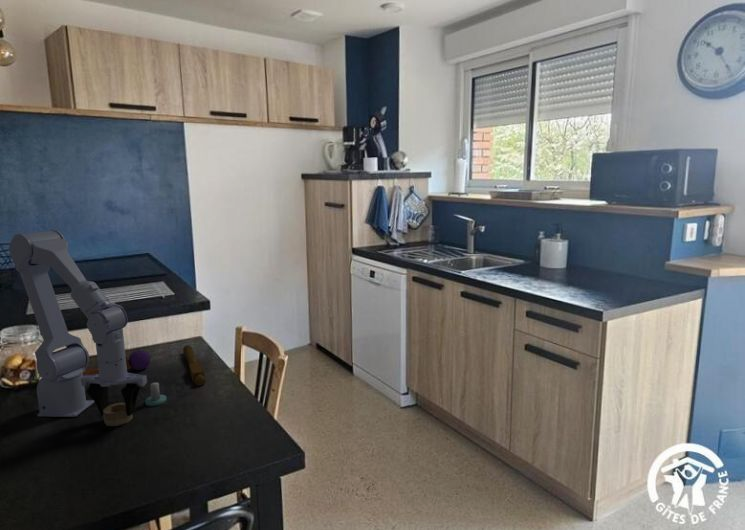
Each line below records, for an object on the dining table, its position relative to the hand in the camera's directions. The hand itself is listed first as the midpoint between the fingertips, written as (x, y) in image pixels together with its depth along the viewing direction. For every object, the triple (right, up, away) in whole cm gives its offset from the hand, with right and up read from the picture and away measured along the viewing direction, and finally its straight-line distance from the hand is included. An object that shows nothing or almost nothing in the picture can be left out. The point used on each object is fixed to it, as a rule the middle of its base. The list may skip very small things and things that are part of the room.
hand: (117, 413), depth 115 cm
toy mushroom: (+5, 0, +9) cm, 11 cm away
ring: (0, -2, 0) cm, 2 cm away
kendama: (-15, +3, +27) cm, 31 cm away
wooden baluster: (+6, +4, +32) cm, 33 cm away
